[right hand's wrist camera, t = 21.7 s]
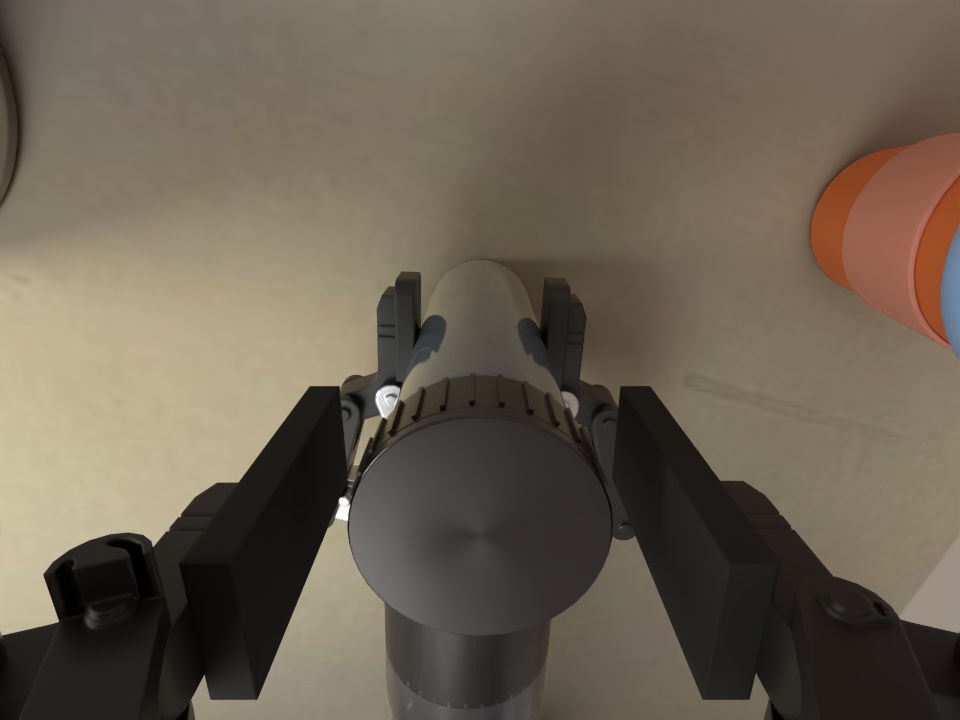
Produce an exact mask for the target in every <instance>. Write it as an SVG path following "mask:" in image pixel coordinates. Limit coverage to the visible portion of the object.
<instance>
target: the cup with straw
mask: <svg viewBox="0 0 960 720" xmlns="http://www.w3.org/2000/svg"><path fill="white" fill-rule="evenodd" d="M810 236H811V246H812V251H813V254H814V257H815V259H816V261H817V263H818V265H819V266H820V268H821V269H822V270H823V271H824V273H825V274H826V275H827V276H829V277H830V278H831V279H832V280H834V281H835V282H837V283H839V284H840V285H842V286H844V287H846V288H848V289H849V290H851V291H853V292H855V293H857V295H858V296H859V297H860V298H861V299H862V300H863V301H864V302H866V303H867V304H868V305H870V306H871V307H873V308H875V309H876V310H878V311H880V312H882V313H883V314H885V315H887V316H889V317H891V318H893V319H894V320H896V321H898V322H900V323H902V324H903V325H905V326H907V327H909V328H911V329H912V330H914V331H916V332H918V333H920V334H921V335H923V336H925V337H927V338H929V339H931V340H932V341H934V342H936V343H938V344H940V345H941V346H943V347H945V348H947V349H949V350H951V351H954V353H955V354H956V356H957V357H958V359H959V360H960V132H956V133H950V134H944V135H940V136H936V137H932V138H929V139H926V140H924V141H921V142H919V143H916V144H913V145H907V146H901V147H895V148H889V149H884V150H880V151H877V152H874V153H871V154H869V155H866V156H864V157H862V158H861V159H859V160H857V161H855V162H854V163H852V164H851V165H849V166H848V167H847V168H845V169H844V170H843V171H842V172H841V173H840V174H839V175H837V176H836V178H835V179H834V180H833V181H832V182H831V183H830V185H829V186H828V187H827V188H826V190H825V191H824V193H823V195H822V196H821V198H820V200H819V202H818V204H817V207H816V209H815V212H814V215H813V219H812V224H811V234H810Z"/></svg>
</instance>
